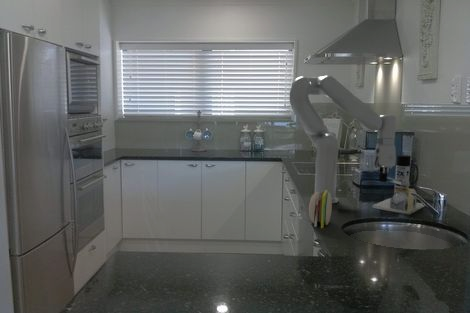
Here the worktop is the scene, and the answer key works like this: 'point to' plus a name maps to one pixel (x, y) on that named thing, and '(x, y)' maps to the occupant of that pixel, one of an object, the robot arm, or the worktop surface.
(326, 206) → the hamburger
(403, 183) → the lever
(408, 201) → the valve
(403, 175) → the spray can
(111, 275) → the worktop surface
